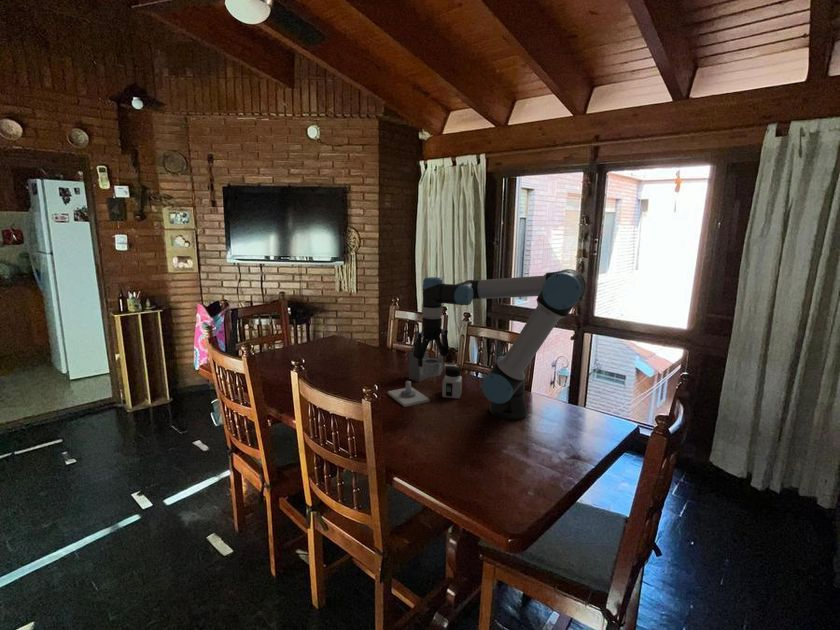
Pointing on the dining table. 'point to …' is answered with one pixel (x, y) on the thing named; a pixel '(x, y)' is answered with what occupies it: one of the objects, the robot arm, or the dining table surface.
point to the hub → (432, 367)
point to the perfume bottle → (415, 366)
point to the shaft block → (408, 396)
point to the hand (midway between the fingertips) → (431, 372)
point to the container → (452, 382)
